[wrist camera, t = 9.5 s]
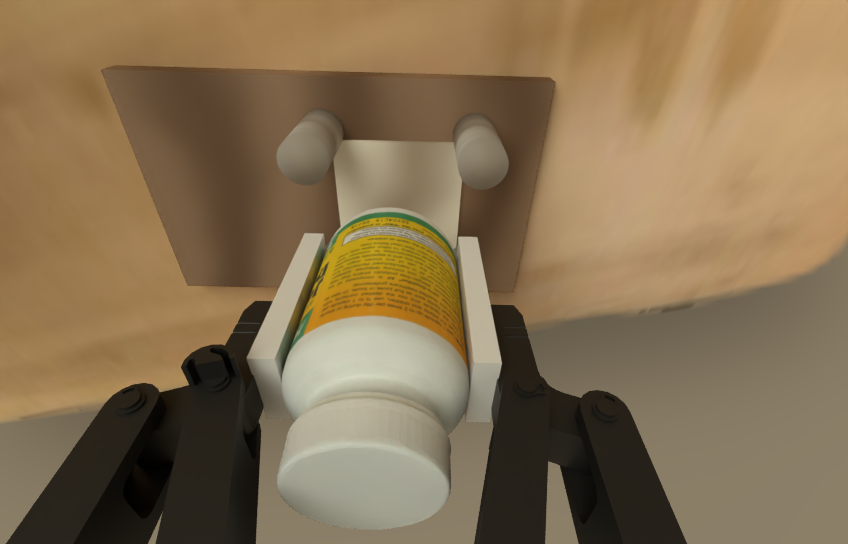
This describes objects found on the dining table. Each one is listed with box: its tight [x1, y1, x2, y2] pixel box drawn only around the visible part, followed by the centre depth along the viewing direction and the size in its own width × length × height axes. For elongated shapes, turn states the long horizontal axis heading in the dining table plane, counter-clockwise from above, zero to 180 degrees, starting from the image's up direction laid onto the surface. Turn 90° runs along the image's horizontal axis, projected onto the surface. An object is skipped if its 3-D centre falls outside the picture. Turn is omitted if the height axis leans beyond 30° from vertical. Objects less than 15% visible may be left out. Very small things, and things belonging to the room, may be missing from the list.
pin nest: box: [101, 66, 555, 292], centre depth 20 cm, size 20×12×5 cm, turn 89°
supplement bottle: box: [277, 207, 470, 530], centre depth 13 cm, size 5×5×10 cm
